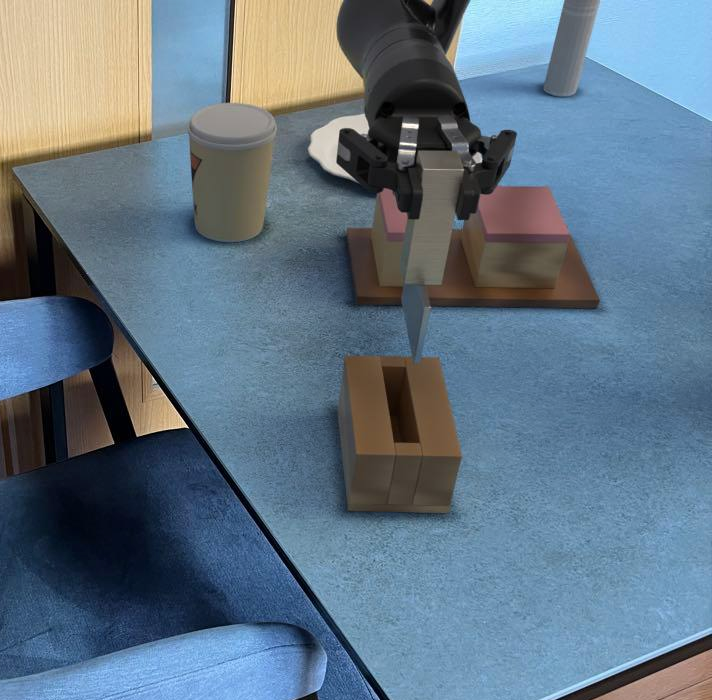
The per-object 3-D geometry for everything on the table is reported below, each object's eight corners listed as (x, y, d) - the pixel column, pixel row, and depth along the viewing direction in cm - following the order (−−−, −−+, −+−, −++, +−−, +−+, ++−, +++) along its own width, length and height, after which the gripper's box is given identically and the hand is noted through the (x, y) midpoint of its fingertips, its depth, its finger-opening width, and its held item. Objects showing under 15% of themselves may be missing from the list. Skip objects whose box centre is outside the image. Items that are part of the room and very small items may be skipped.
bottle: (582, 92, 141) (626, -72, 127) (558, 99, 139) (600, -67, 125) (559, 82, 144) (600, -81, 129) (536, 88, 142) (574, -76, 128)
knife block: (427, 413, 92) (439, 356, 87) (448, 513, 82) (462, 456, 78) (337, 411, 92) (344, 355, 88) (347, 511, 83) (356, 453, 78)
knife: (421, 299, 85) (452, 132, 75) (435, 364, 78) (471, 190, 68) (386, 299, 85) (413, 131, 75) (398, 363, 78) (428, 190, 68)
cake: (566, 238, 113) (583, 177, 108) (597, 308, 103) (617, 245, 98) (346, 236, 114) (353, 175, 109) (356, 304, 104) (364, 241, 99)
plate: (481, 206, 118) (484, 192, 117) (300, 193, 121) (301, 179, 120) (476, 129, 133) (479, 116, 132) (314, 119, 136) (315, 107, 135)
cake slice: (408, 237, 112) (416, 185, 107) (419, 287, 104) (429, 232, 100) (371, 237, 112) (378, 184, 107) (379, 286, 105) (387, 232, 100)
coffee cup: (201, 201, 120) (202, 97, 112) (279, 212, 118) (286, 106, 110) (177, 239, 114) (176, 132, 105) (259, 251, 112) (264, 143, 103)
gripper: (330, 56, 81) (345, 153, 69) (511, 57, 80) (558, 156, 68) (321, 149, 86) (333, 255, 74) (491, 151, 85) (532, 258, 73)
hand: (441, 207), depth 71 cm, fingers closed on knife, 3 cm apart
